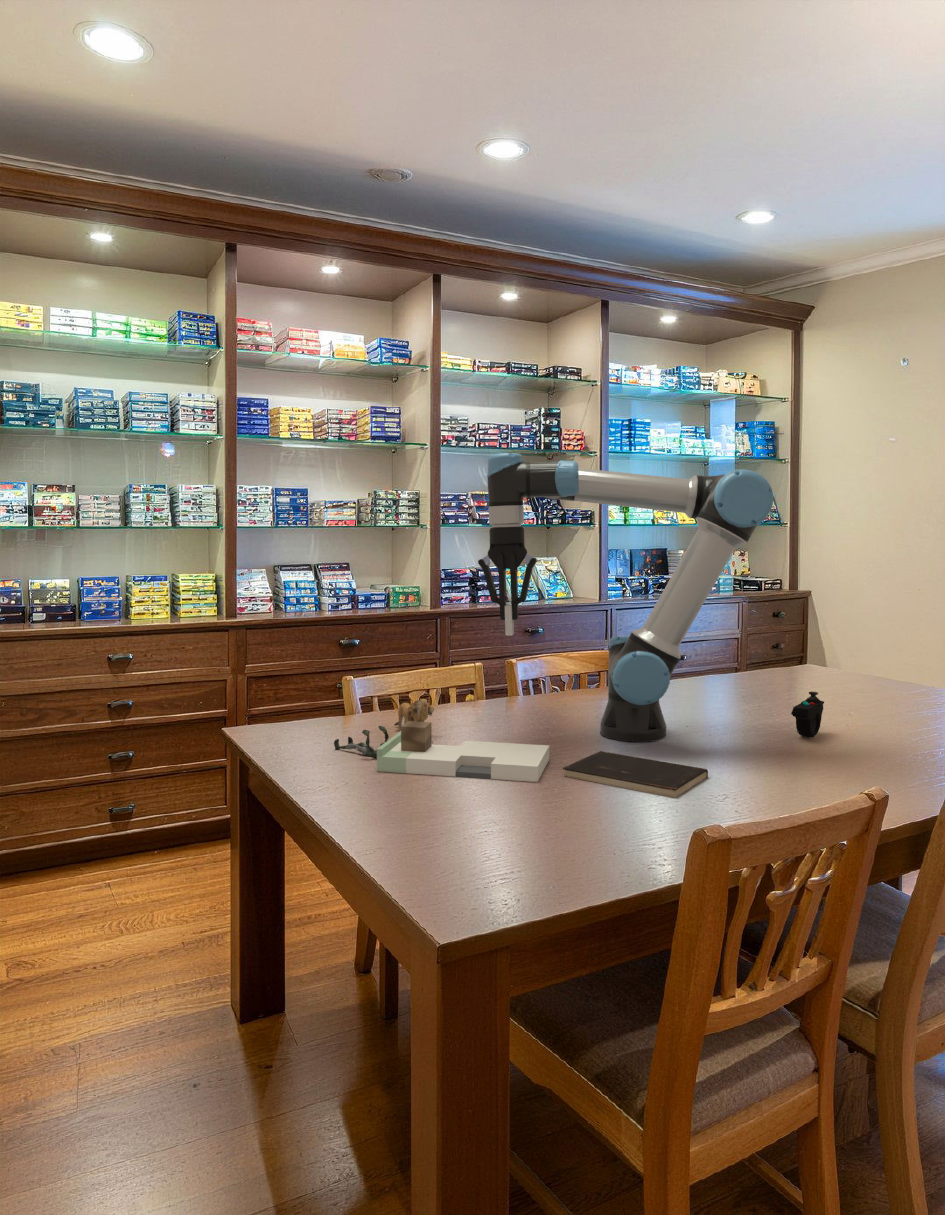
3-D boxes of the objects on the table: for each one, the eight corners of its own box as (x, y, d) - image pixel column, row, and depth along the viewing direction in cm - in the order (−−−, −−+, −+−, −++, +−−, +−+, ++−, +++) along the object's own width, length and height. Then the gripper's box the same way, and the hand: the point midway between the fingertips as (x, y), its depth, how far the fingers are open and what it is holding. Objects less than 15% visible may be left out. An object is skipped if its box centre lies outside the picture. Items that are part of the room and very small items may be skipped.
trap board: (549, 759, 177) (549, 738, 177) (537, 782, 162) (537, 758, 161) (401, 750, 185) (401, 730, 184) (377, 771, 169) (376, 749, 169)
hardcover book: (674, 801, 152) (675, 788, 152) (562, 779, 166) (562, 767, 166) (708, 780, 165) (708, 768, 165) (601, 761, 179) (601, 750, 178)
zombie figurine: (351, 716, 189) (397, 728, 178) (351, 746, 189) (396, 760, 179) (332, 719, 185) (377, 732, 174) (332, 751, 185) (377, 765, 175)
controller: (825, 733, 199) (826, 691, 199) (807, 744, 190) (809, 700, 189) (806, 731, 202) (807, 689, 201) (788, 741, 193) (789, 697, 192)
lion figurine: (437, 737, 196) (437, 699, 195) (417, 741, 193) (417, 702, 192) (403, 725, 208) (403, 689, 207) (384, 728, 205) (384, 691, 204)
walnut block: (431, 746, 177) (431, 722, 176) (424, 752, 172) (424, 727, 171) (408, 744, 178) (408, 721, 177) (401, 750, 173) (400, 726, 173)
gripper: (538, 525, 187) (541, 632, 189) (479, 527, 189) (483, 632, 191) (534, 525, 180) (537, 636, 182) (473, 527, 182) (477, 637, 184)
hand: (509, 634), depth 187 cm, fingers closed
